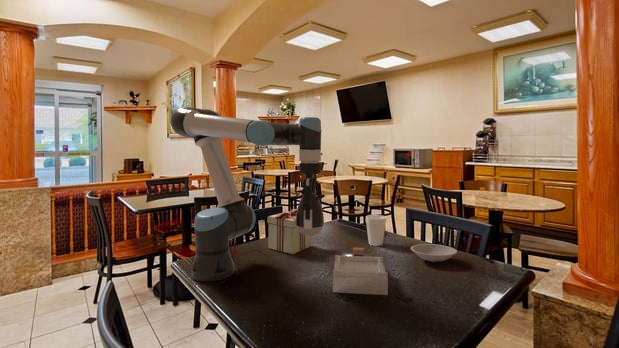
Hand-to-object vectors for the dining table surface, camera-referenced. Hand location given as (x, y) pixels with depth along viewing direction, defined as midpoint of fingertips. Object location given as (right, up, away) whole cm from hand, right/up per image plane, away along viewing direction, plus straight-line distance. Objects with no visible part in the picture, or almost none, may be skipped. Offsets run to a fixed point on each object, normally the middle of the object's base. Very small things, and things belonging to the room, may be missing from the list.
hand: (309, 224), depth 112 cm
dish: (+49, -17, +14) cm, 54 cm away
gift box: (-8, -16, +34) cm, 38 cm away
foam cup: (+31, -15, +38) cm, 51 cm away
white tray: (+17, -19, -2) cm, 25 cm away
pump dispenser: (0, -3, 0) cm, 4 cm away
